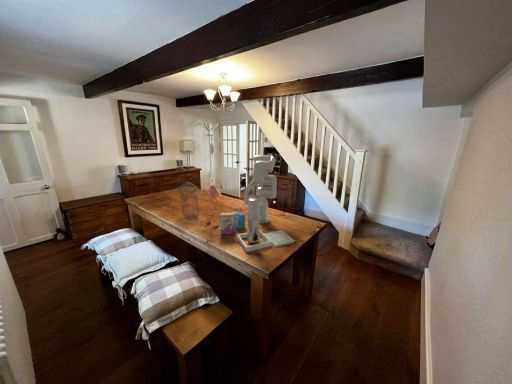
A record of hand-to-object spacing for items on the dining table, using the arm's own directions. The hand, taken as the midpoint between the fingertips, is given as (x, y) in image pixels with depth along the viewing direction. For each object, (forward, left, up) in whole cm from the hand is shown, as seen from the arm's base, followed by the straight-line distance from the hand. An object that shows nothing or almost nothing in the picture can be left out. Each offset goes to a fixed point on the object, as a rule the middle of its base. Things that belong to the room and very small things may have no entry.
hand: (253, 238), depth 142 cm
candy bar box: (-21, -13, -3) cm, 25 cm away
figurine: (-43, -18, -3) cm, 46 cm away
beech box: (0, 0, -2) cm, 2 cm away
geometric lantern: (-64, -37, -3) cm, 74 cm away
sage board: (+3, +19, -3) cm, 19 cm away
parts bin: (0, 0, -3) cm, 3 cm away
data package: (-29, -2, -3) cm, 29 cm away
